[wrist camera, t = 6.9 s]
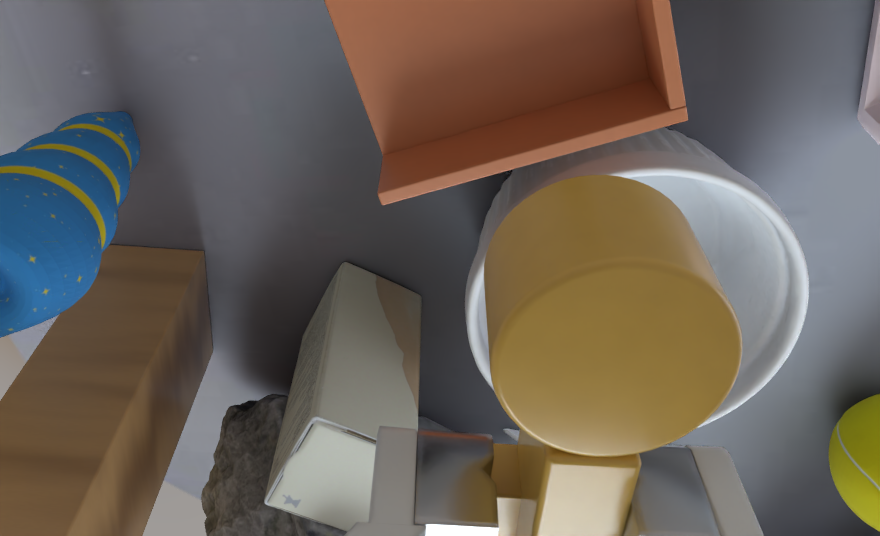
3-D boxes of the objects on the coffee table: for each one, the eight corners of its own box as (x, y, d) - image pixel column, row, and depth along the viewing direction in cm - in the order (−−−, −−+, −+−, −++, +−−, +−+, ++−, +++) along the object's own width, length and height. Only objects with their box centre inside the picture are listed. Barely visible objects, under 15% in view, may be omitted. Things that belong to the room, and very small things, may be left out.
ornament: (45, 129, 35) (-182, 344, 22) (90, 29, 33) (-133, 206, 20) (157, 191, 36) (5, 425, 24) (208, 100, 34) (71, 305, 21)
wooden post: (106, 243, 38) (-141, 604, 22) (204, 250, 38) (30, 613, 22) (123, 346, 41) (-83, 727, 25) (213, 351, 41) (67, 733, 25)
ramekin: (427, 311, 40) (425, 407, 34) (516, 56, 33) (533, 121, 27) (676, 371, 42) (715, 471, 36) (808, 141, 35) (882, 219, 29)
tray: (193, -85, 25) (160, -63, 22) (609, -231, 23) (633, -229, 20) (310, 183, 30) (296, 230, 27) (662, 82, 28) (689, 121, 25)
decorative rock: (219, 394, 42) (123, 667, 30) (277, 307, 40) (199, 568, 27) (477, 513, 47) (489, 792, 35) (546, 442, 44) (588, 720, 32)
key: (493, 164, 9) (504, 253, 8) (718, 178, 9) (776, 270, 8) (457, 503, 12) (458, 622, 11) (628, 512, 12) (656, 632, 11)
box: (378, 366, 41) (359, 545, 32) (300, 334, 40) (256, 510, 31) (426, 291, 39) (421, 460, 30) (344, 254, 38) (311, 418, 29)
